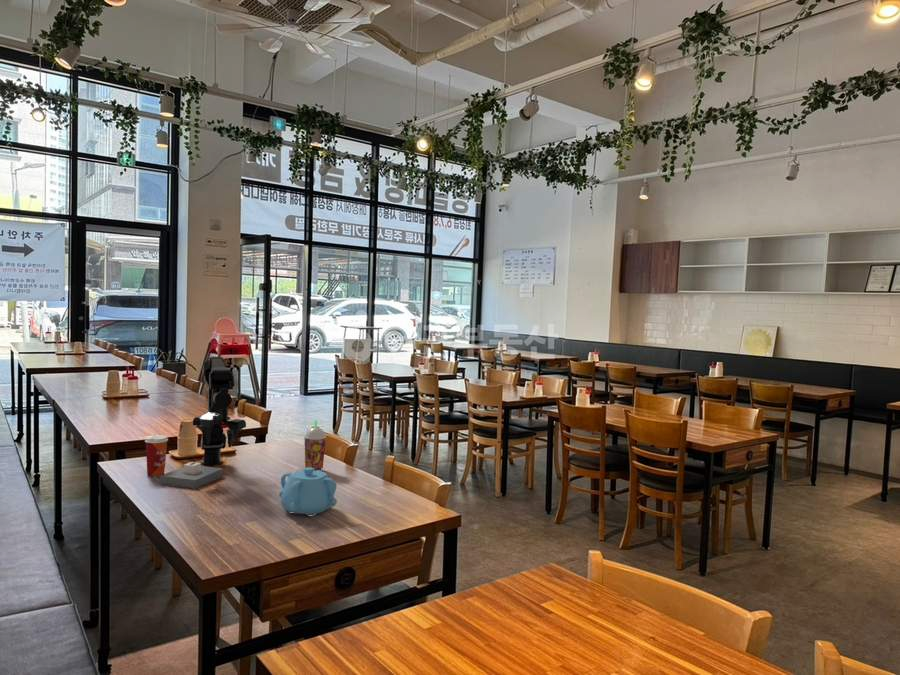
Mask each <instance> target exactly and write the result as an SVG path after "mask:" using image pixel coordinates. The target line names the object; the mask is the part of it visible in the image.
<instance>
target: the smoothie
mask: <svg viewBox="0 0 900 675" xmlns="http://www.w3.org/2000/svg"><path fill="white" fill-rule="evenodd" d="M317 422H318V421H317V419H316V420H315V419H314V427H311V428H309V429H308V430H307V431H306V433H305V435H304V436H303V438H304V468H307V467H311V468H314V471H317V470H321V469H323V468H324V461H325V452H326V451H325V449H326V441H327V440H326V439H327V435H326V433H325V431H324V430H323V429H322V428H320V427H318V425H317V424H318V423H317ZM321 471H322V470H321Z"/></svg>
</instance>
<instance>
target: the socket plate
mask: <svg viewBox="0 0 900 675" xmlns="http://www.w3.org/2000/svg"><path fill="white" fill-rule="evenodd" d="M223 472H224V468H220V467H215V466H206V465H204V466H203V465H201V472H199V473H197V474H195V475H193V474H185V473H184V466H182V467H180V468H177V469H174V470H171V471H168V472H166V473H164V474H163V475H160V476H159V485H163V484H167V485H166V486H171V485H173V487H178V486H181V487H180V488H186V487H189V488H188V489H194V488H196V489H198V488H200V487H202V486H204V485H207V484H209V483H211V482H213V481H215V480H216V481H217V480H218V479H220V478H222V477H223V475H224V473H223ZM197 487H198V488H197Z"/></svg>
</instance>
